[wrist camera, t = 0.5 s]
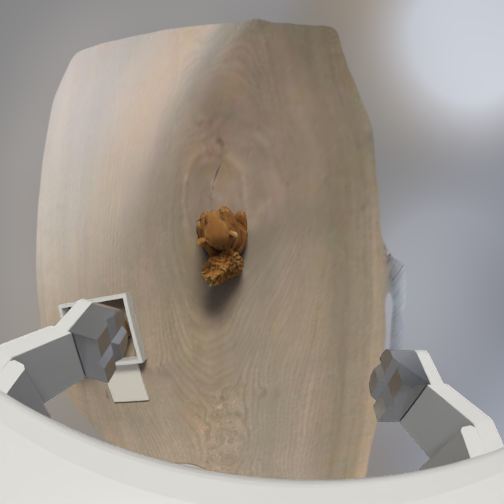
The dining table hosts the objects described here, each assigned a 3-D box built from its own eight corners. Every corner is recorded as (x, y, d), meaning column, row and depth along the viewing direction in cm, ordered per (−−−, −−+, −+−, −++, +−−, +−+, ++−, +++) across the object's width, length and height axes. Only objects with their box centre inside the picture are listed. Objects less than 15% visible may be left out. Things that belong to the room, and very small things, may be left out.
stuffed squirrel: (244, 208, 61) (246, 194, 47) (254, 278, 60) (259, 284, 47) (195, 215, 60) (184, 203, 47) (205, 285, 60) (196, 292, 47)
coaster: (149, 398, 59) (148, 400, 58) (115, 400, 58) (114, 401, 58) (138, 362, 59) (137, 363, 58) (103, 365, 58) (102, 366, 58)
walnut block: (131, 334, 59) (123, 340, 54) (116, 339, 59) (107, 345, 54) (124, 316, 59) (115, 321, 54) (109, 322, 59) (100, 327, 54)
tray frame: (146, 358, 59) (142, 362, 56) (80, 364, 58) (74, 368, 55) (130, 291, 59) (125, 293, 56) (64, 303, 58) (58, 305, 55)
